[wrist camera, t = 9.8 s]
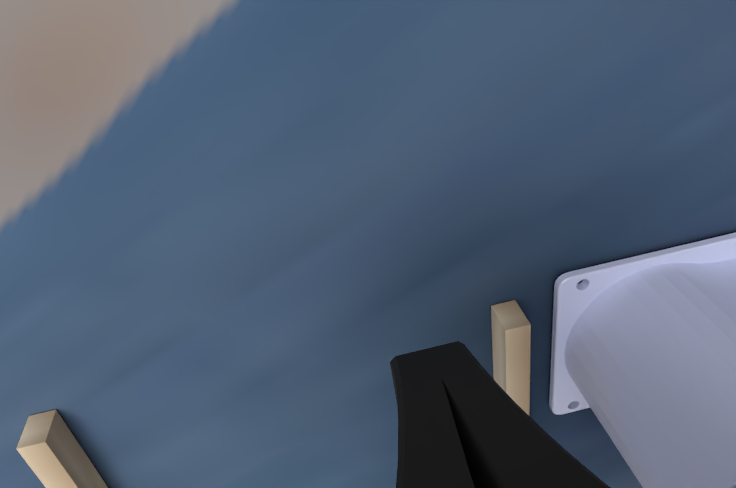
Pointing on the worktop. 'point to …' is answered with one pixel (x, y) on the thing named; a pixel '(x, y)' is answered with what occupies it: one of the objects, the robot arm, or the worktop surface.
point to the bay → (84, 484)
